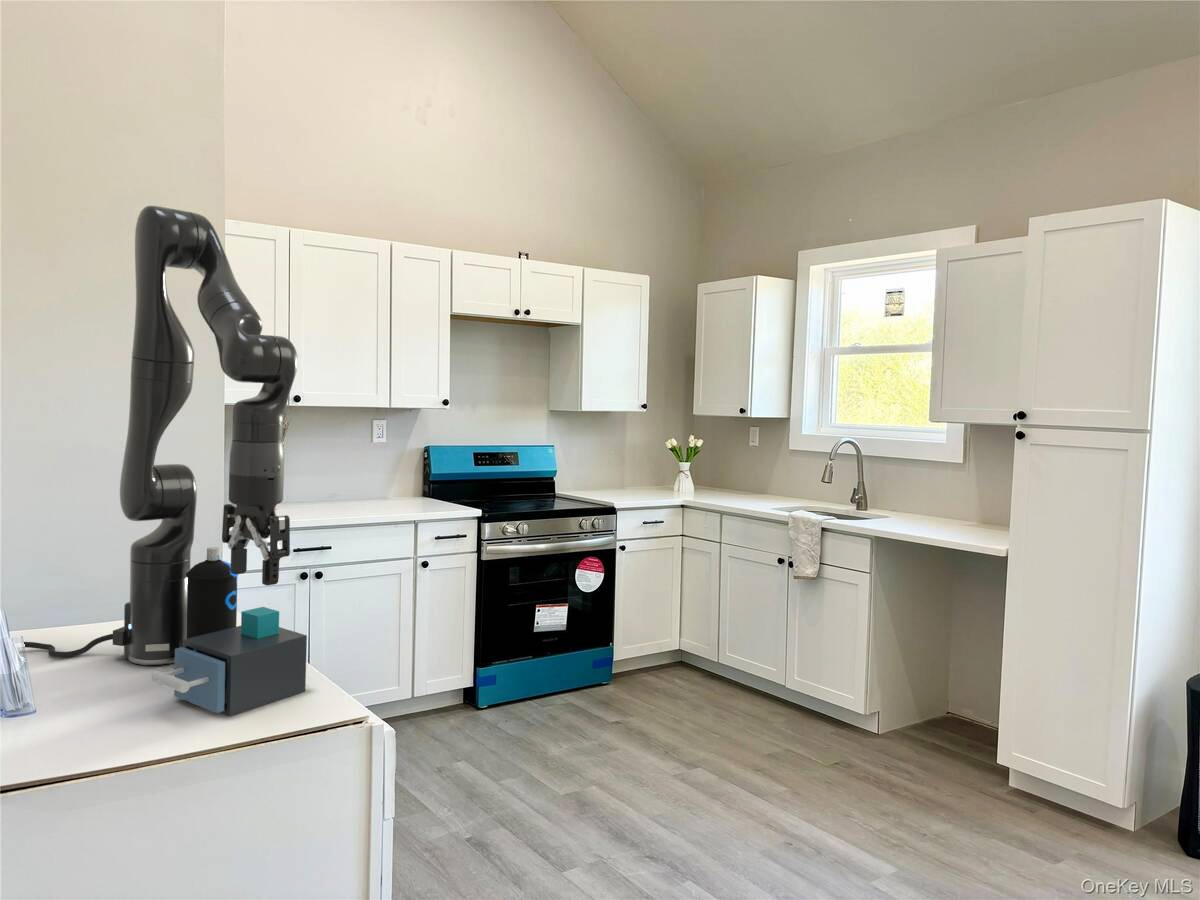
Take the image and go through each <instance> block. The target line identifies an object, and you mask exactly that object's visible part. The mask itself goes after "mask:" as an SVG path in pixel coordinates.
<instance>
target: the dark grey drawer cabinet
mask: <svg viewBox="0 0 1200 900" xmlns="http://www.w3.org/2000/svg"><path fill="white" fill-rule="evenodd" d="M307 640H308V635H306V634H303V633H300V632H297V631H294V630H290V629H287V628H284V627H282V626H281V627H280V626H279V634H275V635H271V636H267V637H264V638H260V639H255V638H252V637H249V636H246V635H243V634H241V625H238V626H237V625H236V627H233V628H229V629H225V630H221V631H217V632H213V633H208V634H204V635H200V636H196V637H192V638H188V639H184V640H183V648H186V649H189V650H192V651H193V648H194V649H197V650H200V651H203V652H206V653H209V654H212V655H215V656H218V657H220V658H223V659H226V660H228V674H227V704H226V703H224V711H222V712H219V713H220V714H222V715H225V716H228V717H233V716H236V715H239V714H242V713H245V712H247V711H251V710H254V709H257V708H259V707H260V708H261V707H263V706H266V705H269V704H271V703H275V702H277V701H281V700H283V699H286V698H289V697H292V696H295V695H298V694H301V693H305V692H306V682H307V681H306V679H307V677H306V676H307V645H308V643H307V642H308V641H307Z"/></svg>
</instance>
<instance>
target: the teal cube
mask: <svg viewBox="0 0 1200 900" xmlns="http://www.w3.org/2000/svg"><path fill="white" fill-rule="evenodd" d="M240 617H241V618H240V620H241V621H240V626H241V634H243V635H246V636H249V637H252V638H255V639H260V638H264V637H267V636H271V635H275V634H279V627H280V611H279V610H276V609H272V608H269V607H266V606H260V607H256V608H251V609H246V610H242V611H241V616H240Z"/></svg>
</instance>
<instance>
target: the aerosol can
mask: <svg viewBox="0 0 1200 900" xmlns="http://www.w3.org/2000/svg"><path fill="white" fill-rule="evenodd" d="M239 575H240V574H233V573H231V562H227V561H225V560H222V559H220V547H218V546H210V547H207V548H206V559H205V560H204V561H201V562H198V563H196V564H194V565H193V566H192V567H190V571H188V572H187V573H186V576H187V577H188V584H187V639H188V638H192V637H196V636H200V635H204V634H208V633H213V632H217V631H221V630H225V629H229V628H233V627H237V616H238V615H237V611H238V576H239Z"/></svg>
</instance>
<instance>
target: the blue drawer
mask: <svg viewBox="0 0 1200 900" xmlns="http://www.w3.org/2000/svg"><path fill="white" fill-rule="evenodd" d="M227 674H228V660H226V659H223V658H220V657H218V656H215V655H212V654H209V653H206V652H203V651H200V650H197V649H194V648H193V651H192V650H189V649H186V648H183V647H180V648H176V649H175V662H174V669H172V670H168V671H164V672H163V671H160V670H155V671H153V672H152V673H151V676H150V680H151V681H152V682H153V683H156V684H159V685H160V686H164V687H166V688H169V689H171V690H174V691H173V696H174V697H176V698H179V699H181V700H183V701H186V702H189V703H190V704H193V705H196V706H198V707H201V708H203V709H206V710H209V711H210V712H213V713H216V714H219V713H220V712H222V711H224V703H226V704H227Z"/></svg>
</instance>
